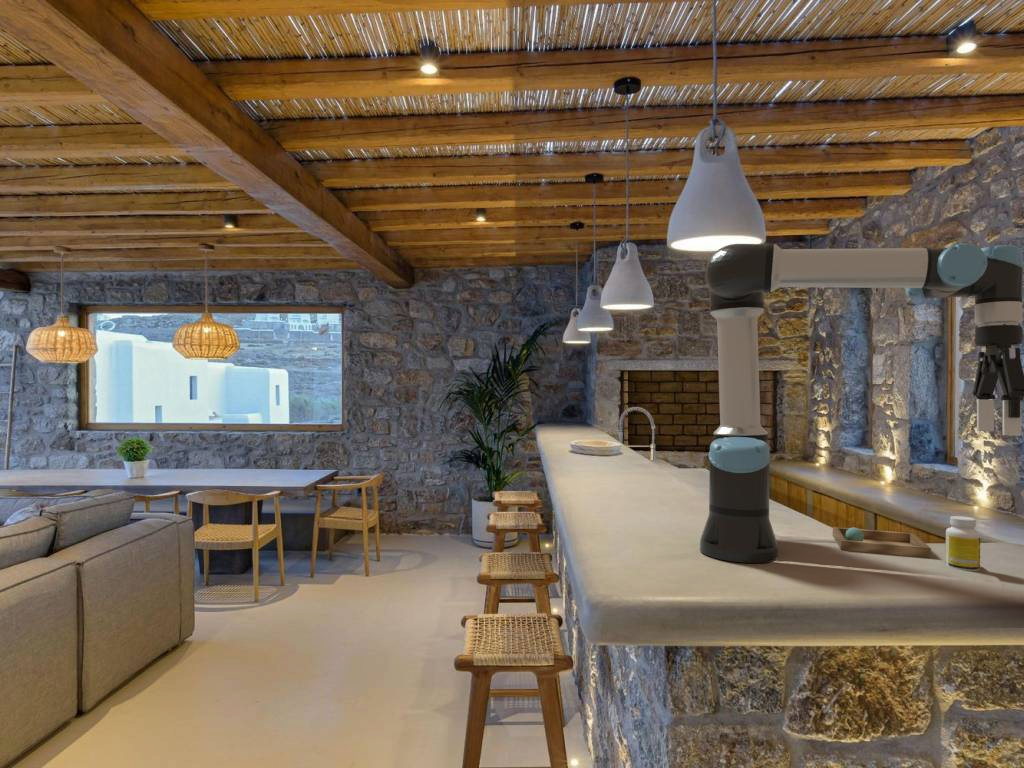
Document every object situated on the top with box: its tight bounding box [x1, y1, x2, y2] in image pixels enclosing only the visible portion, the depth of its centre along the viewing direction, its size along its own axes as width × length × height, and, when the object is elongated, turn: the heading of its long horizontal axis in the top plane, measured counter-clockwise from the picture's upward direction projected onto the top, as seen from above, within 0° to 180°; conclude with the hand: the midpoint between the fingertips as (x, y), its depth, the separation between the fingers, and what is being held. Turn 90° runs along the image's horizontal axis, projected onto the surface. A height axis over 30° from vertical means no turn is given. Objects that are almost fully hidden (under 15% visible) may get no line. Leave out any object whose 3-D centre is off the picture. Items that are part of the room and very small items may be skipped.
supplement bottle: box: [944, 515, 981, 572], centre depth 121 cm, size 5×5×10 cm
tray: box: [832, 526, 932, 559], centre depth 136 cm, size 16×14×2 cm
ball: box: [846, 526, 864, 541], centre depth 138 cm, size 4×4×4 cm
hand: (998, 433), depth 126 cm, fingers open, 13 cm apart
